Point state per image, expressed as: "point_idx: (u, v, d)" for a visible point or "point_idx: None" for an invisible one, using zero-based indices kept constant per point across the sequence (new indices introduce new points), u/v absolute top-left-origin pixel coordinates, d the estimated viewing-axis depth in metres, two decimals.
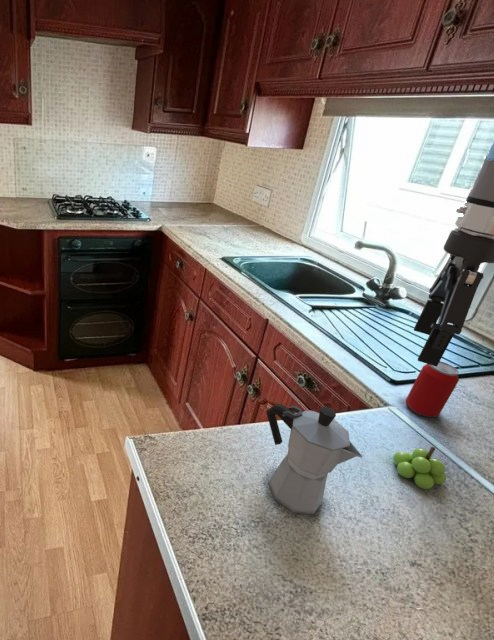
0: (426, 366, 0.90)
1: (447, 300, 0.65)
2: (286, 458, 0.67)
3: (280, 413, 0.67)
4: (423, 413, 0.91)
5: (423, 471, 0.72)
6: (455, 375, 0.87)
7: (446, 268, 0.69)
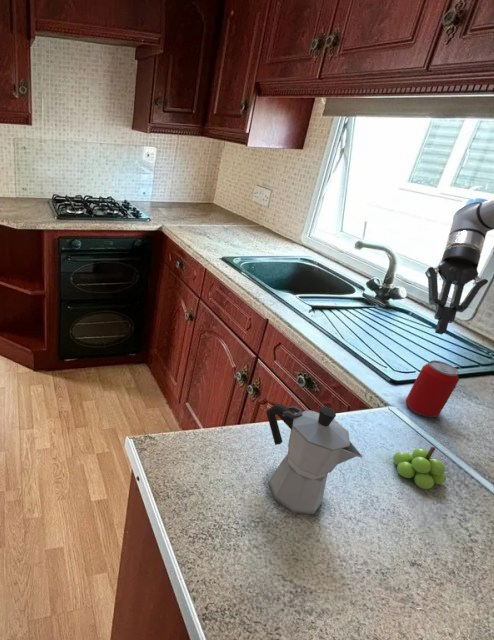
0: (426, 366, 0.90)
1: (441, 291, 1.05)
2: (286, 458, 0.67)
3: (280, 413, 0.67)
4: (423, 413, 0.91)
5: (423, 471, 0.72)
6: (455, 375, 0.87)
7: None
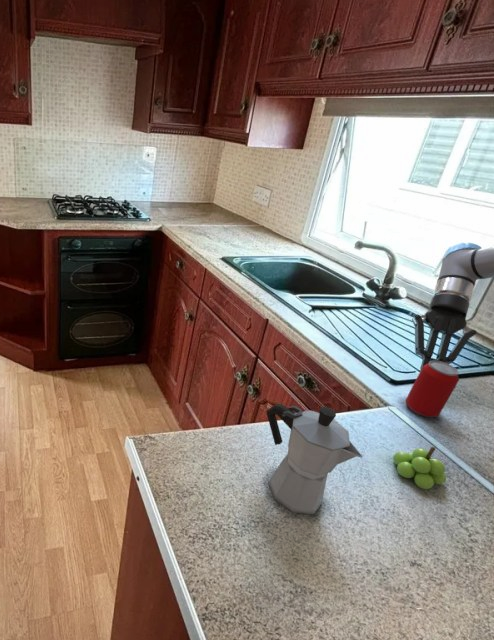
0: (426, 366, 0.90)
1: (428, 341, 1.01)
2: (286, 458, 0.67)
3: (280, 413, 0.67)
4: (423, 413, 0.91)
5: (423, 471, 0.72)
6: (455, 375, 0.87)
7: None
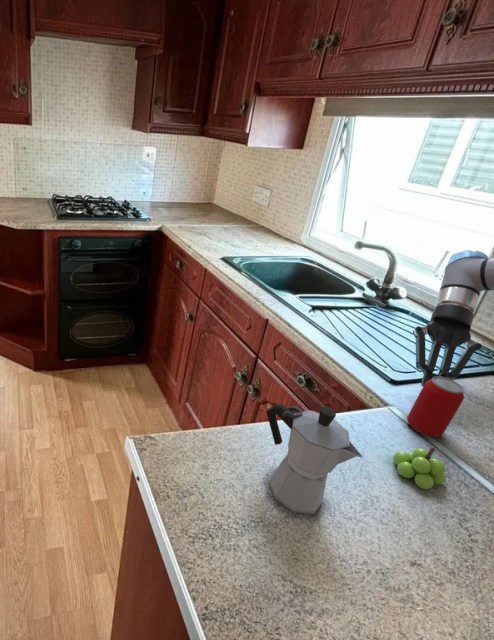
0: (429, 383, 0.84)
1: (429, 354, 0.95)
2: (286, 458, 0.67)
3: (280, 413, 0.67)
4: (428, 433, 0.85)
5: (423, 471, 0.72)
6: (461, 393, 0.81)
7: None
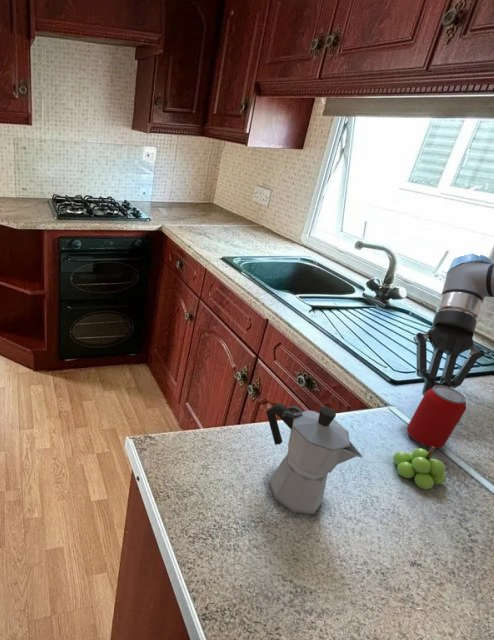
0: (430, 393, 0.81)
1: (430, 362, 0.92)
2: (286, 458, 0.67)
3: (280, 413, 0.67)
4: (428, 444, 0.82)
5: (423, 471, 0.72)
6: (463, 403, 0.78)
7: None
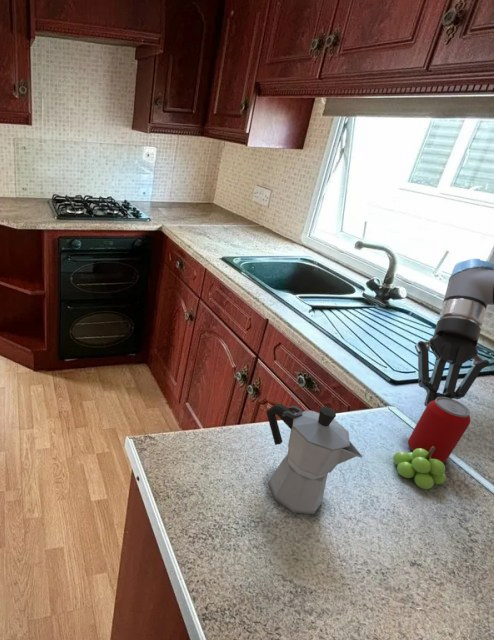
0: (432, 405, 0.77)
1: (433, 371, 0.88)
2: (286, 458, 0.67)
3: (280, 413, 0.67)
4: None
5: (423, 471, 0.72)
6: (467, 416, 0.74)
7: None
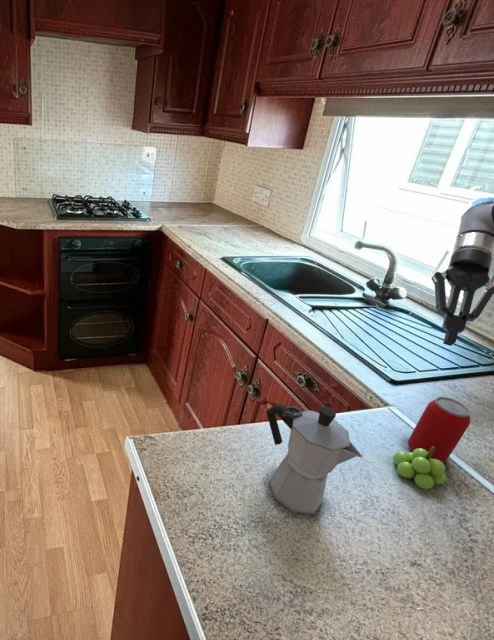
0: (432, 405, 0.77)
1: (449, 299, 0.96)
2: (286, 458, 0.67)
3: (280, 413, 0.67)
4: None
5: (423, 471, 0.72)
6: (467, 416, 0.74)
7: None
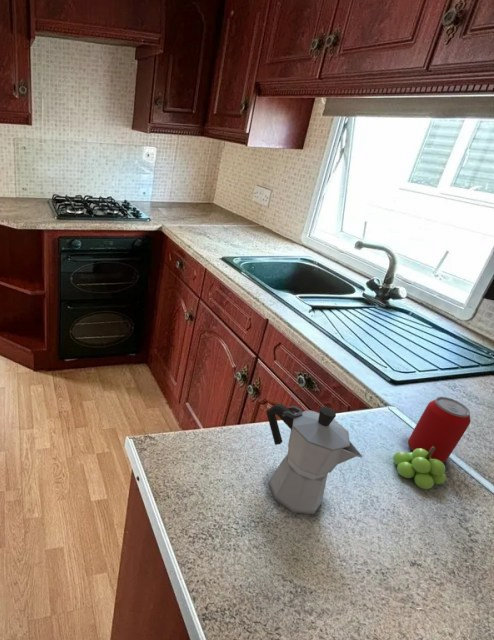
0: (432, 405, 0.77)
1: None
2: (286, 458, 0.67)
3: (280, 413, 0.67)
4: None
5: (423, 471, 0.72)
6: (467, 416, 0.74)
7: None
